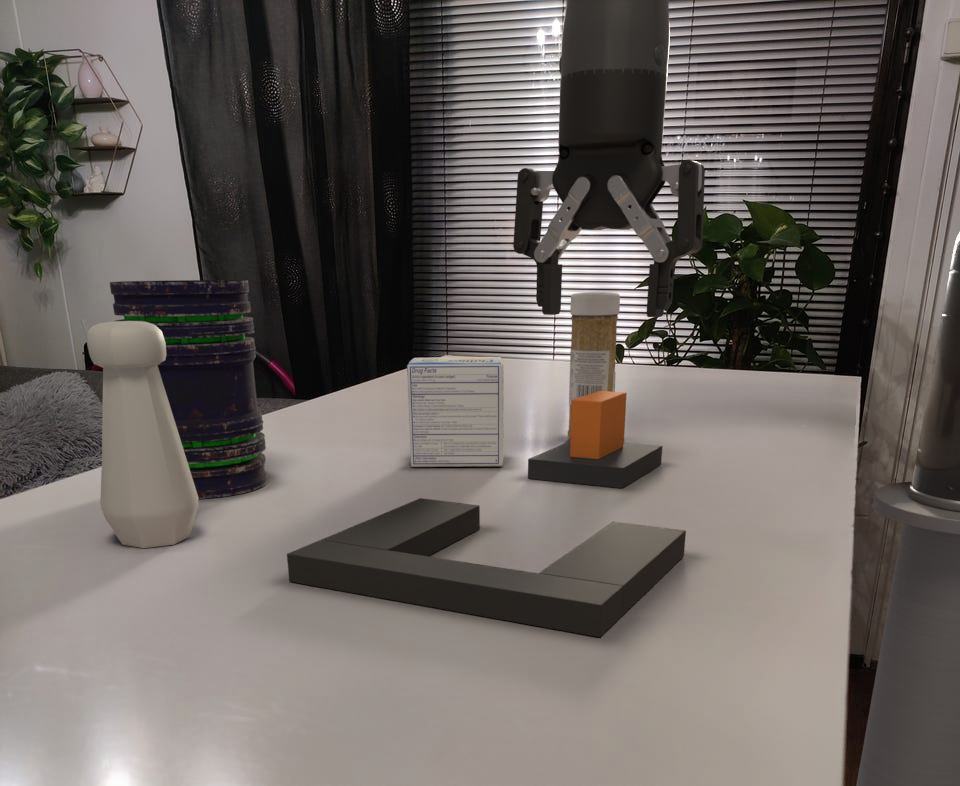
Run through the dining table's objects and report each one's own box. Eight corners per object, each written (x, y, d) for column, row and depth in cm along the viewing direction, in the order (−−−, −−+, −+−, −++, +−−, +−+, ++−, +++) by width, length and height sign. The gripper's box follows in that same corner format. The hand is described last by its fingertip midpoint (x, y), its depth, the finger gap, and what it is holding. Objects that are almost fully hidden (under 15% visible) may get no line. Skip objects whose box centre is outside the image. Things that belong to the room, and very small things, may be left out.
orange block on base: (574, 456, 81) (576, 386, 78) (661, 464, 77) (666, 391, 75) (527, 478, 73) (528, 401, 70) (622, 488, 69) (627, 407, 67)
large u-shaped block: (420, 521, 61) (420, 497, 60) (684, 556, 53) (686, 530, 52) (288, 581, 49) (286, 553, 49) (600, 637, 42) (601, 605, 41)
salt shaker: (89, 540, 57) (49, 322, 52) (169, 521, 61) (140, 317, 56) (139, 557, 54) (102, 326, 49) (221, 536, 58) (194, 320, 53)
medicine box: (503, 458, 80) (504, 356, 77) (503, 468, 76) (503, 361, 73) (415, 458, 81) (411, 356, 77) (410, 468, 77) (406, 362, 73)
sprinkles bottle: (620, 437, 90) (628, 292, 85) (600, 444, 86) (607, 293, 81) (579, 433, 92) (584, 291, 87) (558, 440, 88) (562, 292, 83)
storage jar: (291, 474, 75) (274, 279, 69) (229, 503, 66) (203, 282, 60) (185, 468, 77) (160, 280, 71) (111, 495, 68) (76, 282, 63)
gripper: (726, 73, 64) (704, 316, 70) (542, 89, 70) (537, 311, 76) (699, 53, 58) (677, 321, 64) (500, 73, 64) (498, 315, 70)
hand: (601, 315), depth 70 cm, fingers open, 8 cm apart
